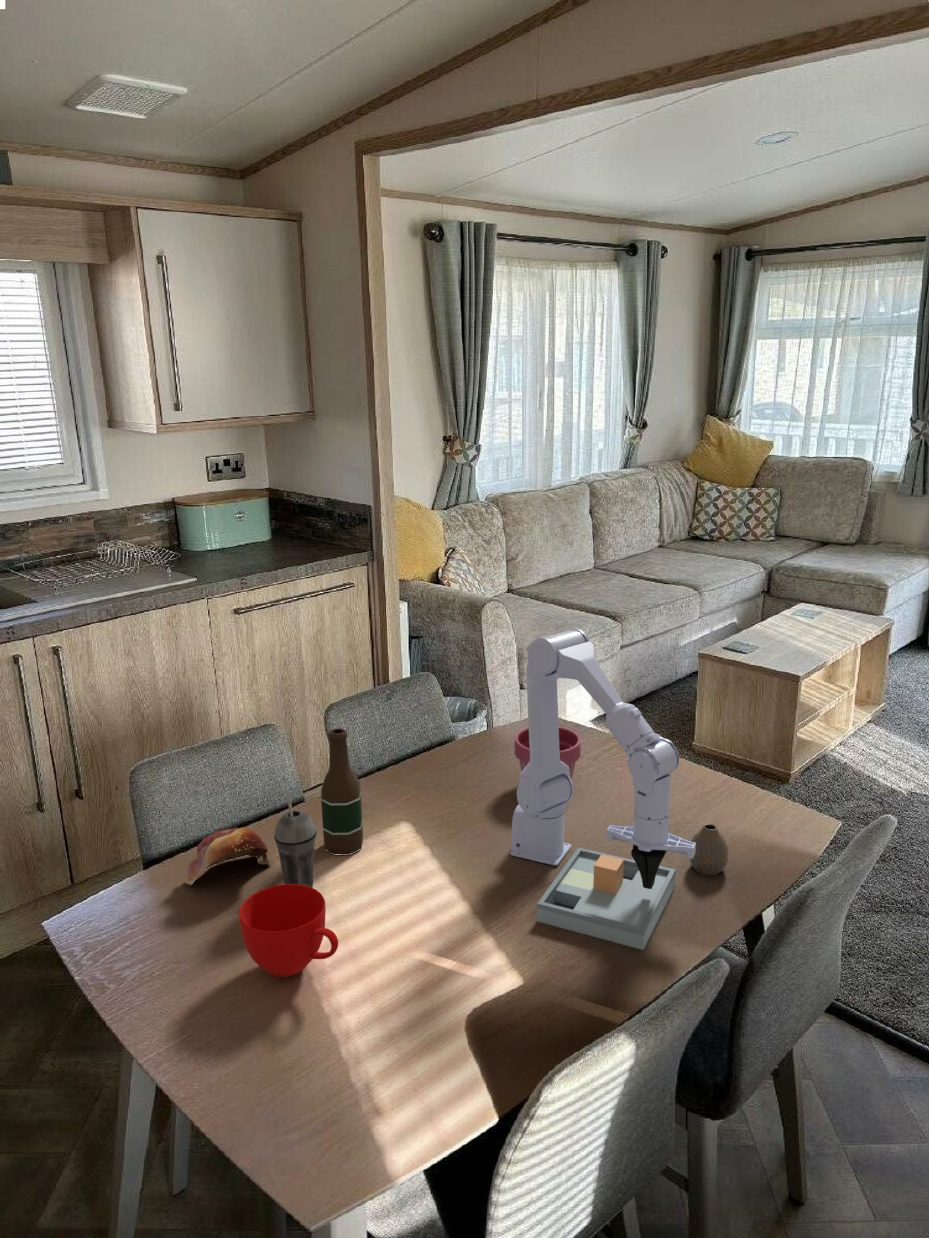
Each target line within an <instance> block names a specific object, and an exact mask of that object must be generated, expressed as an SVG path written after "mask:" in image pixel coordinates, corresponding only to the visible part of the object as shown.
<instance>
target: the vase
mask: <svg viewBox="0 0 929 1238" xmlns="http://www.w3.org/2000/svg"><path fill="white" fill-rule="evenodd" d="M690 842H694V843H696V852H695V855H694V857H693V859H691V858H689V863H690V864H691V866H692V867H693V869H695V871H696V872H697V873H699V874H700V875H704V876H710V877H711V876H716V875H718V874H720V873H721V872H723V870H725V868H726V866H727V865H728V864H727V863H728V860H729V847H728V844H727V841H726V839H725V837H724V836H723V835H722V834H721V832H720V831H719V829H718V826H717V825H716V824H713V823H705V824H703V826H702V827H701V829H700V830H699V831H698V832H697V833H696V834H695V835H694V836H693V837H692V838H691V841H690Z"/></svg>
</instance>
